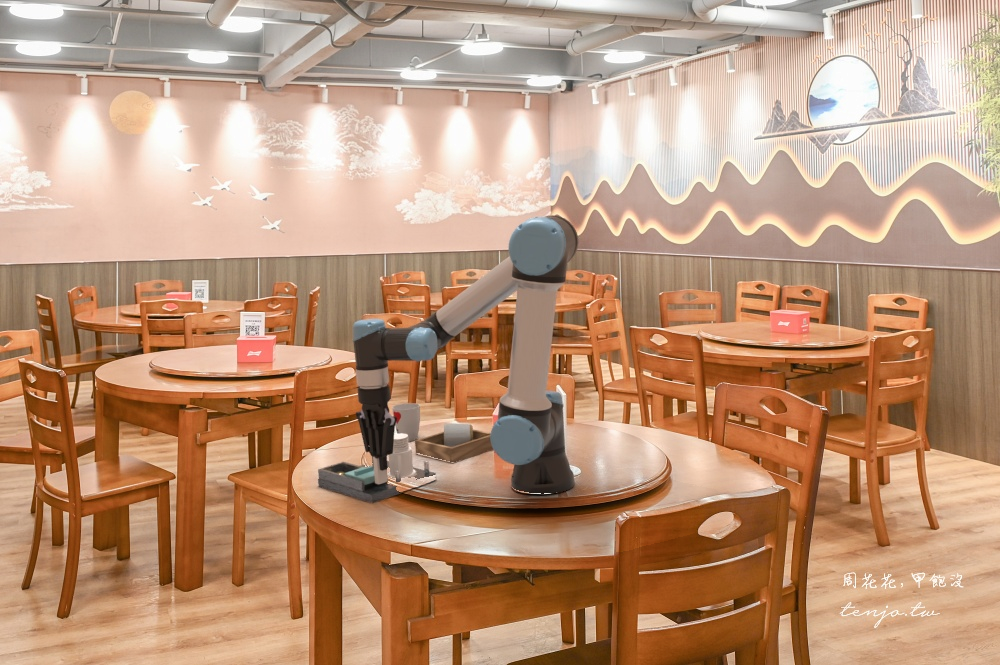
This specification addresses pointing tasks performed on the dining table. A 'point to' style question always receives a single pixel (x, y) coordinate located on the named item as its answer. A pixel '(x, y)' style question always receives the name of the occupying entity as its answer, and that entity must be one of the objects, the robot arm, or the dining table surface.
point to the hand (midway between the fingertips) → (381, 482)
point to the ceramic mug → (457, 434)
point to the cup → (407, 419)
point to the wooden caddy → (460, 452)
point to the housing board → (362, 482)
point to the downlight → (401, 457)
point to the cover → (363, 474)
